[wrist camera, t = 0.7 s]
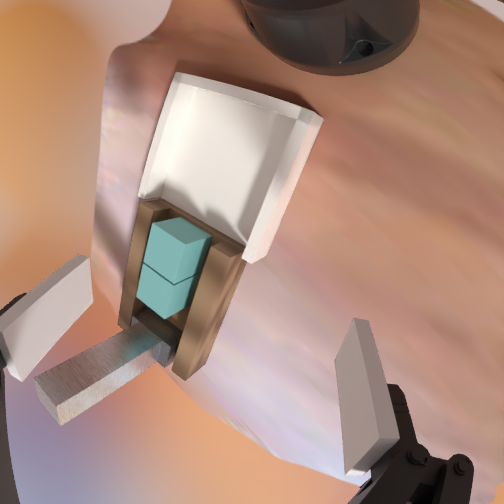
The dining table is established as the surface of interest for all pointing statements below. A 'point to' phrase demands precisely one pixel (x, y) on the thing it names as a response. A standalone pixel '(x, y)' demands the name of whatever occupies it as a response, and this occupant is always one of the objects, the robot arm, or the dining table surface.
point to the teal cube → (176, 249)
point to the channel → (206, 291)
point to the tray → (229, 158)
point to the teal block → (165, 292)
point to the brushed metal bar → (107, 365)
